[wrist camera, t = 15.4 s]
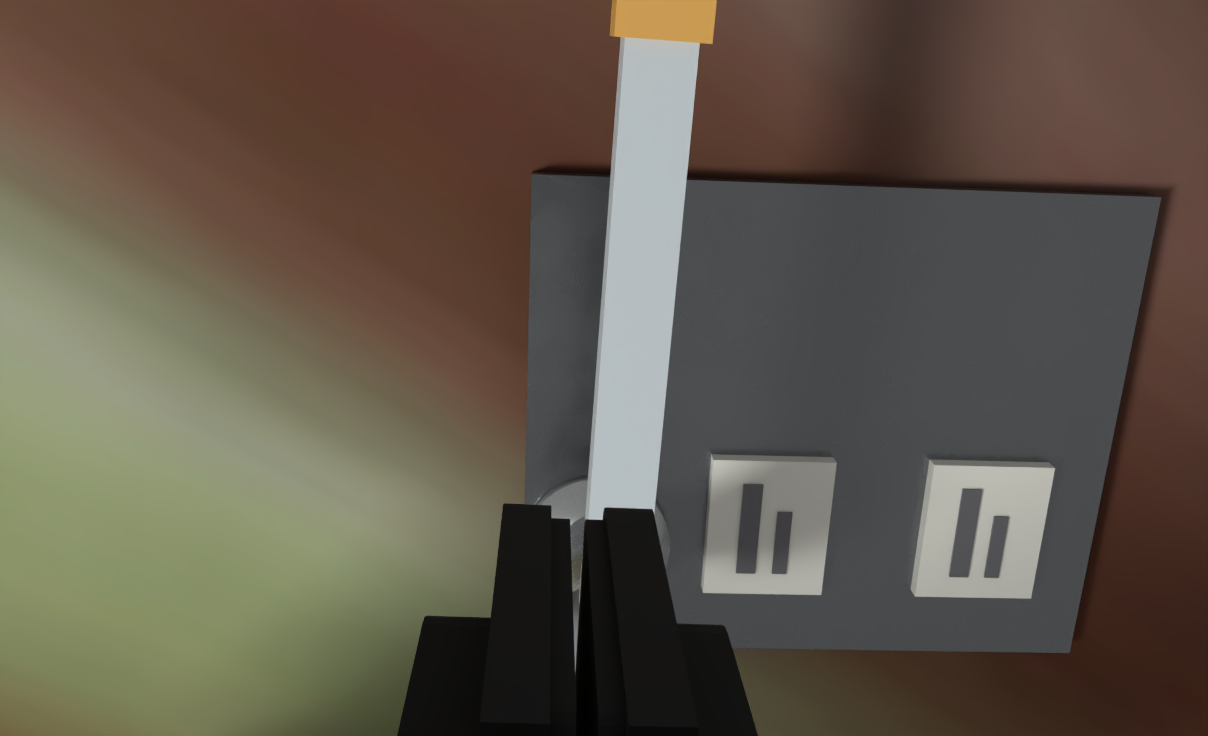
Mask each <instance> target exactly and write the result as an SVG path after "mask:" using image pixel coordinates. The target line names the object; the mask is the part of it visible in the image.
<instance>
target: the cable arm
mask: <svg viewBox="0 0 1208 736" xmlns="http://www.w3.org/2000/svg"><path fill="white" fill-rule="evenodd" d="M716 2H717V0H612V13H611V27H610V36H616V37H621V41H620V55H619V68H618V82H617V95H616V109H615V122H614V136H613V149H612V162H611V176H610V189H609V203H608V216H607V230H606V243H605V256H604V270H603V283H602V297H601V310H600V324H599V337H598V350H597V364H596V377H595V391H594V404H593V418H592V431H591V444H590V458H589V471H588V485H587V498H586V512H585V519H589V520H603V512H604V508H605V507H610V508H637V509H653V512H654V513H655V502H656V492H657V481H658V471H659V461H660V450H661V440H662V429H663V419H664V409H665V398H666V388H667V377H668V367H669V357H670V346H671V336H672V325H673V315H674V305H675V294H676V284H677V273H678V263H679V253H680V242H681V232H682V221H683V211H684V201H685V190H686V180H687V169H688V159H689V149H690V138H691V128H692V117H693V107H694V97H695V86H696V76H697V65H698V55H699V45H700V43H707V44H712V43H713V32H714V22H715V12H716ZM582 554H583V552H582ZM581 570H582V565H581ZM580 586H581V579H580ZM579 603H580V589H578V590H576V591H574V592H573V622H574V652H575V669H576V653H577V636H578V619H579Z"/></svg>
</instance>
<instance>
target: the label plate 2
mask: <svg viewBox="0 0 1208 736" xmlns="http://www.w3.org/2000/svg"><path fill="white" fill-rule="evenodd" d="M1054 472H1055V467H1053V466H1052V465H1051V464H1050V463H1049V462H1017V461H974V460H932V459H929V466H928V473H927V480H926V486H925V493H924V500H923V507H922V514H921V521H920V528H919V534H918V541H917V548H916V555H915V562H914V569H913V576H912V583H911V591H912V593H913V594H914V596H915V597H965V598H1023V599H1031V596H1032V590H1033V585H1034V580H1035V574H1036V569H1037V563H1038V558H1039V553H1040V547H1041V542H1042V536H1043V531H1044V526H1045V520H1046V515H1047V509H1048V504H1049V499H1050V493H1051V488H1052V482H1053V477H1054Z"/></svg>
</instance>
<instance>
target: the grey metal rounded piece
mask: <svg viewBox="0 0 1208 736" xmlns="http://www.w3.org/2000/svg"><path fill="white" fill-rule="evenodd" d="M587 485H588V475H586V476H580V477H576V478H573V479H570V480H568V481H565V482H563V483H561V484H559V485H558V486H556V487H554V488H553V489H552V490H550V491H549V492H548V493H546V494H545V495H544V496H543V497H542V498H541V499H540V501H539V502H538V503H537V504H536V505H551V518H561V519H570V531H571V561H572V591H573V592H574V591H576V590H578V589H580V579H581V565H582V552H583V537H584V524H585V512H586V498H587ZM654 516H655V521H656V526H657V531H658V535H659V540H660V545H661V550H662V555H663V559H664V564H665V568H666V566H667V562H668V559H669V553H670V538H669V531H668V527H667V523H666V520H665V517H664V515H663V513H662V510H661V509H660V507H659V506H658V504H657V503H656V502H655V513H654Z"/></svg>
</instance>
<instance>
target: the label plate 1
mask: <svg viewBox="0 0 1208 736" xmlns="http://www.w3.org/2000/svg"><path fill="white" fill-rule="evenodd" d="M836 465H837V463H836V461H835V459H834V458H833V457H805V456H763V455H721V454H711V465H710V478H709V490H708V503H707V516H706V529H705V542H704V555H703V567H702V580H701V588H702V591H703V593H730V594H789V595H821V593H822V584H823V576H824V567H825V559H826V550H827V542H828V533H829V525H830V516H831V507H832V499H833V490H834V482H835V473H836Z"/></svg>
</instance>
